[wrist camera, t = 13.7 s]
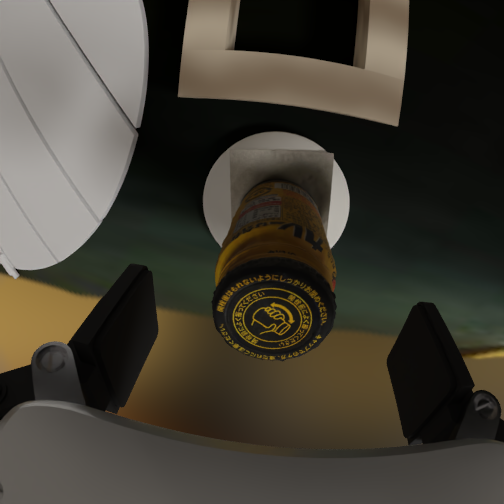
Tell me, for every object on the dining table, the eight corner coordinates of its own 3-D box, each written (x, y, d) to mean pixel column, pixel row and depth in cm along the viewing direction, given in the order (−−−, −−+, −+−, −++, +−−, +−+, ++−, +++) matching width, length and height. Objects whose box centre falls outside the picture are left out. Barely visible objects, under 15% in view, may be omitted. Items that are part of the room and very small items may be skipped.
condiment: (232, 255, 25) (199, 369, 14) (230, 149, 21) (176, 197, 10) (323, 259, 24) (348, 375, 13) (333, 152, 20) (390, 205, 10)
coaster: (210, 124, 21) (207, 125, 20) (358, 144, 21) (361, 145, 20) (203, 256, 26) (200, 261, 25) (331, 272, 26) (332, 278, 25)
